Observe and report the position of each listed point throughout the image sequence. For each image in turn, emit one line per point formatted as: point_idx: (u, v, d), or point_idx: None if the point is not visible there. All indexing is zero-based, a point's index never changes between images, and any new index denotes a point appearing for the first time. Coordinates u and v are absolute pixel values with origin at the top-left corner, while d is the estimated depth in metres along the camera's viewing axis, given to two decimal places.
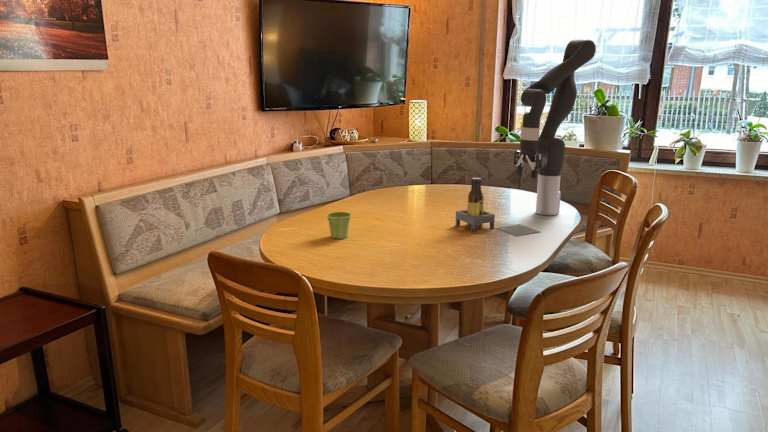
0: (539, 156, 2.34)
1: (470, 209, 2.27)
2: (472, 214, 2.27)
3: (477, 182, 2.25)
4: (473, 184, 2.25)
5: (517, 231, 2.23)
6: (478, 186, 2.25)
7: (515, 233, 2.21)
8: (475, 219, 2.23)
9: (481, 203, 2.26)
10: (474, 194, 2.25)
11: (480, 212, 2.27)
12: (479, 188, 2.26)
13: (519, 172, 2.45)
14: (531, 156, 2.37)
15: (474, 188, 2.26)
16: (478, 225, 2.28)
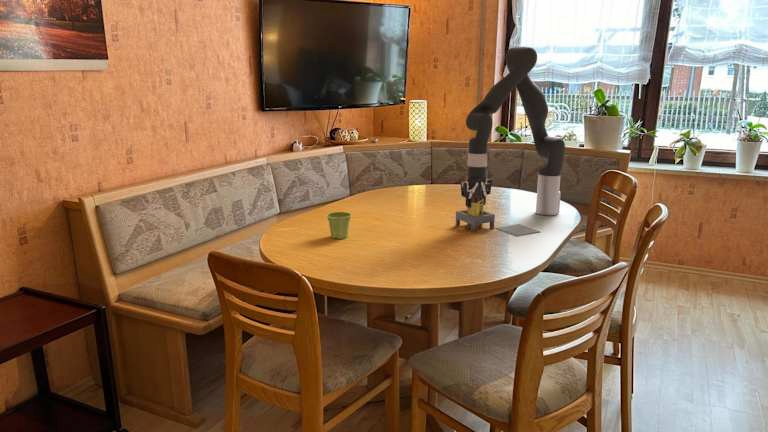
0: None
1: (470, 209, 2.27)
2: (472, 214, 2.27)
3: (477, 182, 2.25)
4: None
5: (517, 231, 2.23)
6: (478, 186, 2.25)
7: (515, 233, 2.21)
8: (475, 219, 2.23)
9: (481, 203, 2.26)
10: (474, 194, 2.25)
11: (480, 212, 2.27)
12: (479, 188, 2.26)
13: None
14: (484, 182, 2.27)
15: None
16: (478, 225, 2.28)
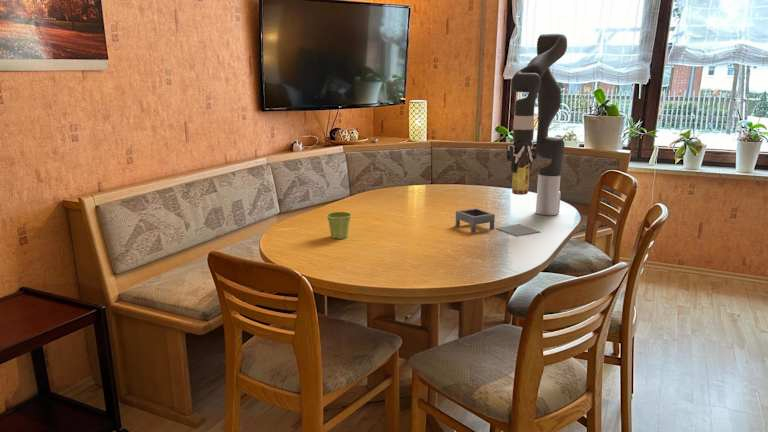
0: None
1: (515, 174, 2.19)
2: (518, 179, 2.19)
3: None
4: None
5: (517, 231, 2.23)
6: (524, 150, 2.17)
7: (515, 233, 2.21)
8: (475, 219, 2.23)
9: (527, 168, 2.18)
10: (520, 158, 2.17)
11: (526, 177, 2.19)
12: (525, 152, 2.18)
13: None
14: (530, 146, 2.19)
15: None
16: (524, 191, 2.20)
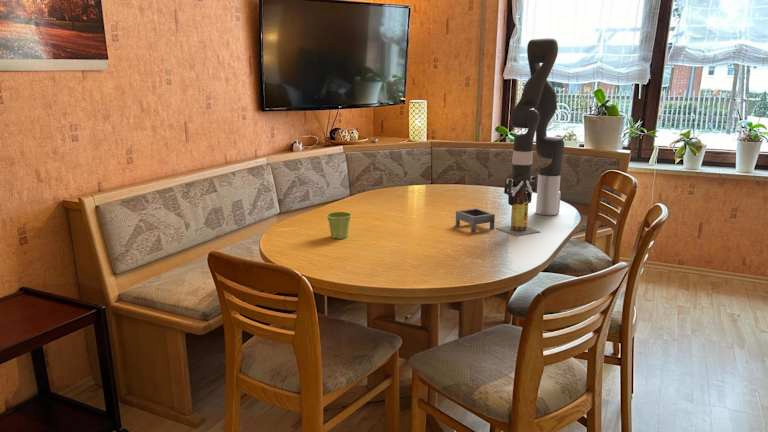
0: None
1: (514, 211, 2.23)
2: (517, 216, 2.22)
3: None
4: None
5: (517, 231, 2.23)
6: (523, 187, 2.21)
7: (515, 233, 2.21)
8: (475, 219, 2.23)
9: (526, 205, 2.22)
10: (519, 195, 2.21)
11: (525, 214, 2.22)
12: (524, 189, 2.21)
13: None
14: (529, 180, 2.22)
15: (519, 189, 2.21)
16: (523, 227, 2.23)
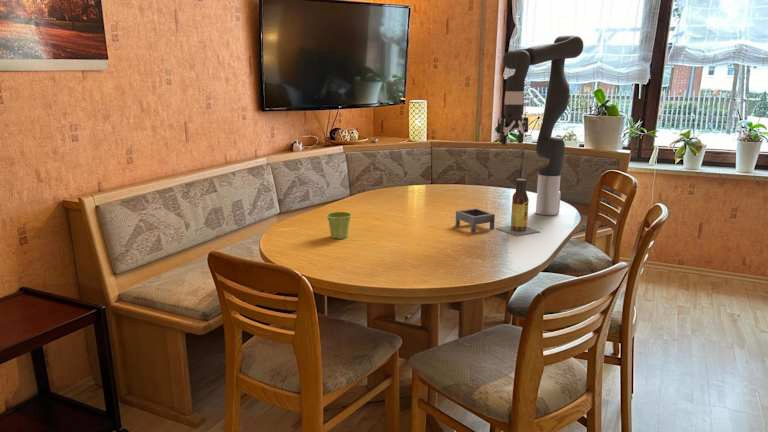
0: None
1: (514, 211, 2.23)
2: (517, 216, 2.22)
3: (522, 183, 2.20)
4: (518, 186, 2.21)
5: (517, 231, 2.23)
6: (523, 187, 2.21)
7: (515, 233, 2.21)
8: (475, 219, 2.23)
9: (526, 205, 2.22)
10: (519, 195, 2.21)
11: (525, 214, 2.22)
12: (524, 189, 2.21)
13: None
14: (520, 120, 2.30)
15: (519, 189, 2.21)
16: (523, 227, 2.23)
